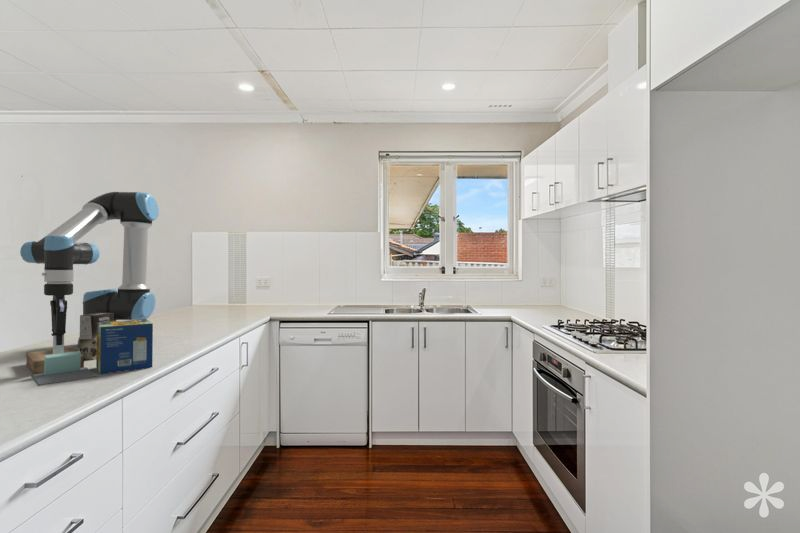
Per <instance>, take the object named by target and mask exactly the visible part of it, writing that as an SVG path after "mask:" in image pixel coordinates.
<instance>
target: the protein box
mask: <svg viewBox="0 0 800 533" xmlns="http://www.w3.org/2000/svg"><path fill="white" fill-rule="evenodd" d="M96 324H97V349H96V359H95V361H96V365H95V366H96V369H97V372H98V373H99V375H104V374H103V373H106V374H110V373H109V372H113V373H118V372H117V371H121V372H126V371H125V370H129V371H135V370H134V369H137V370H143V369H142V368H144V369H151V368H150V367H152V368H153V351H154V350H153V345H154V344H153V343H154V342H153V338H154V336H153V335H154V334H153V332H154V329H153V328H154V325H153V322H151V321H149V320H148V318H147V319H142V320H116V321H114V322H99V323H96Z"/></svg>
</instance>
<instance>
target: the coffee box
mask: <svg viewBox="0 0 800 533" xmlns="http://www.w3.org/2000/svg"><path fill="white" fill-rule="evenodd" d="M99 322H114V313H94V314H86V315H83V314H80V315H79V337H80V344H79V345H80V346H79V347H78V348H79V350H78V351H80V352H81V354H82V355H83V356H84V360H91V359H92V360H96V349H97V324H96V323H99ZM92 360H91V361H92Z"/></svg>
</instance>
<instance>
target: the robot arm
mask: <svg viewBox="0 0 800 533" xmlns="http://www.w3.org/2000/svg"><path fill="white" fill-rule="evenodd" d="M159 213H160V210H159V205H158V202H157V200H156V198H155V197H154V196H153V195H152V194H151V193H148V192H141V191H134V192H133V191H132V192H131V191H130V192H129V191H112V192H111V191H110V192H105V193H103V194H101V195H98V196H96V197H94V198H92V199H90V200H89V201H88V202H86V203H85V204H84V205H83V206H82V208H81V210H80V211H78V212H77V213H75V214H74V215H73V216H72V217H70V218H68V220H66V221H64V222H63V223H62V224H60V225H59V226H57V227H56V228H55V229H54V230H52V231H50V232H49V233H47V235H45V236H44V237H43V238H41V239H40V240H38V241H36V240H33V241H26V242H24V243H23V244H22V246H21V248H20V251H19V253H20V257H21V258H22V260H23V261H24V262H25V263H29V264H37V265H39V264H41V265H43V264H44V268H43V270H44V271H43V272H41V276H42V277H43V279H44V282H45V284H44V285H43V295H45V296H51V297H52V300H50V301H49V304H50V313H51V332H52V333H51V337H52V350H53V354H60V353H64V349H65V334H66V331H67V330H66V325H67V323H66V322H67V312H68V311H67V309H68V300H66V296H70V295H71V296H72V295H73V293H74V284H73V283H72V282H74V265H91V264H93V263H95V262H97V261H98V259H99V258H100V250H99V248H98V247H97V245H95V244H93V243H89V242H78V241H79V240H80V239H82V238H83V237H84V236H85V235H87V233H89V232H90V231H92V230H93V229H94V228H95V227H97V226H98V225H102V224H104V223H106V222H107V221H111V220H119V223H120V224H121V226H122V227H123V228H124V229H123V251H122V252H123V253H122V255H123V256H122V278H121V285H120V286H118V287H117V288H108V289H100V290H91V291H86V292H84V294H83V299H82V315H86V314H94V313H114V321H128V320H142V319H147V320H148V319H149V318H150V317H151V316H152V314H153V312H154V311H155V308H156V302H157V301H156V298H155V294H154V293H152V292H150V290H151V289H150V287H149V286H148V285H147V265H148V264H147V262H148V258H147V257H148V235H149V234H148V233H149V229H150V228H151V227H152V226H153V221H155V220H157V219H158V217H159V215H160V214H159ZM79 344H80V336H79V337H78V340H77V347H78V348H79V346H80V345H79Z"/></svg>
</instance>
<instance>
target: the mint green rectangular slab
mask: <svg viewBox="0 0 800 533" xmlns="http://www.w3.org/2000/svg"><path fill="white" fill-rule="evenodd" d="M80 364H81V352H80V351H79V350H77V352H68V353H60V354H51V355H45V365H44V373H45V375H50V374H57V373H65V372H72V371H79V370H80Z"/></svg>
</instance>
